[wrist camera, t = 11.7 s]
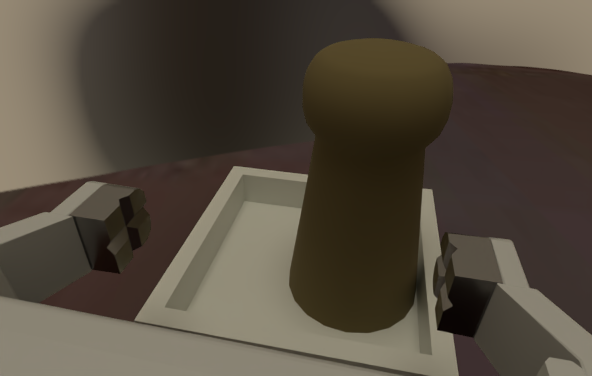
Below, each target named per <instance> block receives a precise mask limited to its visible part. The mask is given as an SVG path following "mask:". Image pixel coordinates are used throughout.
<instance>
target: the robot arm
mask: <svg viewBox="0 0 592 376" xmlns="http://www.w3.org/2000/svg"><path fill="white" fill-rule="evenodd" d="M145 203H146V198H145V194H144V192H143V191H142V190H141V189H138V188H132V187H126V186H120V185H114V184H106V183H101V182H94V181H91V182H86V183H85V184H84V185H83V186H82V187H80V188H79V189H78V190H77V191H76V192H74V193H73V194H72V195H71V196H70V197H68V198H67V199H66V200H65V201H64V202H62V203H61V204H60V205H59V206H58V207H56V208H55V209H54V210H53V211H52V212H50V213H47V212H44V213H41V214H38V215H35V216H32V217H30V218H27V219H24V220H21V221H18V222H15V223H13V224H10V225H7V226H4V227H1V228H0V376H403V375H397V374H392V373H387V372H382V371H377V370H372V369H367V368H362V367H357V366H352V365H347V364H342V363H337V362H332V361H327V360H322V359H317V358H312V357H307V356H302V355H297V354H292V353H287V352H282V351H277V350H272V349H267V348H262V347H257V346H251V345H246V344H241V343H236V342H231V341H226V340H221V339H216V338H211V337H206V336H201V335H196V334H191V333H186V332H181V331H175V330H170V329H165V328H160V327H155V326H150V325H145V324H140V323H135V322H130V321H125V320H120V319H115V318H110V317H105V316H100V315H94V314H89V313H84V312H79V311H74V310H69V309H64V308H59V307H54V306H49V305H44V304H39V302H41V301H43V300H44V299H46V298H48V297H49V296H51V295H53V294H54V293H56V292H58V291H59V290H61V289H63V288H64V287H66V286H68V285H69V284H71V283H73V282H74V281H76V280H77V279H79V278H81V277H82V276H84V275H86V274H87V273H89V272H91V271H92V270H98V271H105V272H112V273H118V274H120V273H121V272H122V271H123V270H124V268H125V267H126V266H127V265H128V263H129V262H130V261H131V260H132V258H133V250H135V249H137V248H139V247H141V246H143V244H144V243H145V241H146V240H147V238H148V236H149V233H150V230H151V220H150V215H149V214H148V212H147V211H146V210H145V209H144V208H143V206H144V205H145ZM441 252H442V255H440V256H439V257H437V259H436V263H435V267H434V274H433V294H434V296H435V297H436V298H437V303H436V306H435V315H436V324H437V330H438V331H443V332H448V333H453V334H458V335H463V336H467V337H472V338H474V340H475V342H476V343H477V345H478V346H479V347H480V349H481V350H482V351H483V353H484V354H485V355H486V357H487V358H488V360H489V361H490V362H491V364H492V365H493V366H494V368H495V369H496V370H497V372H498V373H499V375H500V376H592V335H590V334H589V333H588V332H587V331H586V330H584V329H583V328H582V327H581V326H580V325H578V324H577V323H576V322H575V321H574V320H572V319H571V318H570V317H569V316H568V315H567V314H565V313H564V312H563V311H562V310H561V309H559V308H558V307H557V306H556V305H555V304H553V303H552V302H551V301H550V300H549V299H547V298H546V297H545V296H544V295H543V294H541V293H540V292H539V291H538V290H537V289H531V288H530V287H529V285H528V282H527V279H526V276H525V274H524V271H523V268H522V266H521V263H520V260H519V258H518V255H517V252H516V250H515V247H514V244H513V242H512V241H511V240H508V239H499V238H491V237H488V238H485V237H478V236H470V235H463V234H456V233H448V232H445V234H444V236H443V238H442V242H441ZM91 269H92V270H91Z"/></svg>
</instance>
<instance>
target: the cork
mask: <svg viewBox="0 0 592 376" xmlns="http://www.w3.org/2000/svg"><path fill="white" fill-rule="evenodd" d="M452 101H453V78H452V75H451V73H450V70H449V67H448V65H447V63H445V61H444V60H443V59H442V58H441V57H440V56H438V55H437V54H436V53H435V52H433V51H431V50H429V49H426V48H425V47H421V46H418V45H414V44H411V43H407V42H403V41H397V40H391V39H376V38H368V39H355V40H348V41H342V42H337V43H335V44H332V45H329V46H328V47H326V48H324V49H322V50H321V51H320V52H319V53H317V54H316V55H315V57H314V59H313V60H312V62H311V63H310V65H309V66H308V68H307V71H306V74H305V78H304V82H303V111H304V115H305V119H306V123H307V124H308V126H309V127H310V129H311V130H312V131H313V133H314V134H315V142H314V147H313V152H312V157H311V162H310V168H309V173H308V178H307V183H306V189H305V194H304V199H303V204H302V210H301V215H300V220H299V225H298V230H297V236H296V241H295V246H294V251H293V257H292V262H291V267H290V276H289V287H290V290H291V292H292V295H293V298H294V300H295V302H296V303H297V304H298V305H299V306H300V307H301V309H302V310H303V311H304V312H305V313H306V314H307V315H308V316H310V317H311V318H313V319H314V320H316V321H318V322H319V323H321V324H322V325H324V326H327V327H330V328H333V329H337V330H340V331H343V332H349V333H371V332H375V331H379V330H383V329H387V328H390V327H392V326H393V325H395V324H396V323H398V322H399V321H401V320H402V319H404V318H405V317H406V315H407V314H408V312H409V311H410V309H411V308H412V306H413V305H414V299H415V292H416V281H417V265H418V250H419V235H420V220H421V204H422V189H423V174H424V159H425V148H426V147H427V146H428V145H429V144H430V143H432V142H433V141H434V140H435V139H436V138H437V137H438V136H439V135H440V134H441V132H442V130H443V128H444V126H445V124H446V123H447V121H448V118H449V114H450V110H451V106H452Z"/></svg>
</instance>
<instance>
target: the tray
mask: <svg viewBox="0 0 592 376" xmlns="http://www.w3.org/2000/svg"><path fill="white" fill-rule="evenodd" d="M307 178H308V175H304V174H296V173H288V172H279V171H271V170H262V169H254V168H246V167H237V166H234V167H233V169H232V170H231V172H230V173H229V175H228V176H227V178H226V179H225V181H224V183H223V184H222V186H221V187H220V189H219V190H218V192H217V193H216V195H215V196H214V198H213V200H212V201H211V203H210V204H209V206H208V207H207V209H206V210H205V212H204V213H203V215H202V216H201V218H200V220H199V221H198V223H197V224H196V226H195V227H194V229H193V230H192V232H191V233H190V235H189V237H188V238H187V240H186V241H185V243H184V244H183V246H182V247H181V249H180V250H179V252H178V254H177V255H176V257H175V258H174V260H173V261H172V263H171V264H170V266H169V267H168V269H167V270H166V272H165V274H164V275H163V277H162V278H161V280H160V281H159V283H158V284H157V286H156V287H155V289H154V291H153V292H152V294H151V295H150V297H149V298H148V300H147V301H146V303H145V304H144V306H143V308H142V309H141V311H140V312H139V314H138V315H137V317H136V318H135V320H134V321H135V323H140V324H145V325H150V326H155V327H160V328H165V329H170V330H175V331H181V332H186V333H191V334H196V335H201V336H206V337H211V338H216V339H221V340H226V341H231V342H236V343H241V344H246V345H251V346H257V347H262V348H267V349H272V350H277V351H282V352H287V353H292V354H297V355H302V356H307V357H312V358H317V359H322V360H327V361H332V362H337V363H342V364H347V365H352V366H357V367H362V368H367V369H372V370H377V371H382V372H387V373H392V374H397V375H403V376H459V375H458V368H457V361H456V354H455V347H454V340H453V333H448V332H443V331H438V330H437V324H436V315H435V306H436V303H437V298H436V297H435V296H434V294H433V274H434V267H435V263H436V259H437V257H439V256H440V255H441V249H440V242H439V235H438V228H437V221H436V214H435V207H434V200H433V193H432V190H430V189H422V204H421V220H420V235H419V250H418V265H417V281H416V292H415V299H414V305H413V306H412V308H411V309H410V311H409V312H408V314H407V315H406V317H405V318H404V319H402V320H401V321H399V322H398V323H396V324H395V325H393V326H392V327H390V328H387V329H383V330H379V331H375V332H371V333H349V332H343V331H340V330H337V329H333V328H330V327H327V326H324V325H322V324H321V323H319V322H318V321H316V320H314V319H313V318H311V317H310V316H308V315H307V314H306V313H305V312H304V311H303V310H302V309H301V307H300V306H299V305H298V304H297V303H296V302H295V300H294V298H293V295H292V292H291V290H290V287H289V276H290V267H291V262H292V257H293V251H294V246H295V241H296V236H297V230H298V225H299V220H300V215H301V210H302V204H303V199H304V194H305V189H306V183H307Z"/></svg>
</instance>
